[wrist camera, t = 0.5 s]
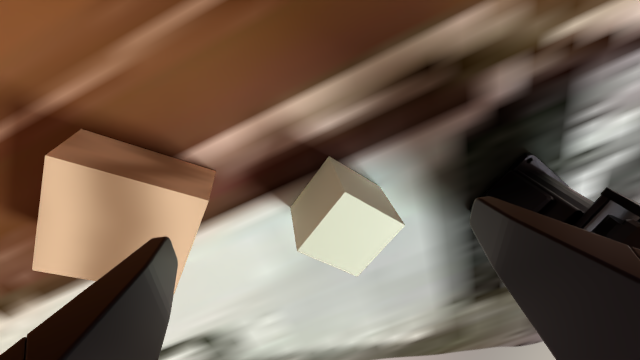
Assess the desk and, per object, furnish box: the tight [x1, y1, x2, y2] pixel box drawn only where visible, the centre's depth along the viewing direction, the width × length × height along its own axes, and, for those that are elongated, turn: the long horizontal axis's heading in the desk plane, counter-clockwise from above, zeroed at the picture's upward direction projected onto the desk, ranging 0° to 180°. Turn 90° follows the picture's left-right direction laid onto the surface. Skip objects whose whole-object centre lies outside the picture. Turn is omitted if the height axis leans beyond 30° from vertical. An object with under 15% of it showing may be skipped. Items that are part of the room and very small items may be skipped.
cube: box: [290, 156, 405, 276], centre depth 22 cm, size 5×5×5 cm
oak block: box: [32, 129, 216, 293], centre depth 20 cm, size 8×8×4 cm
